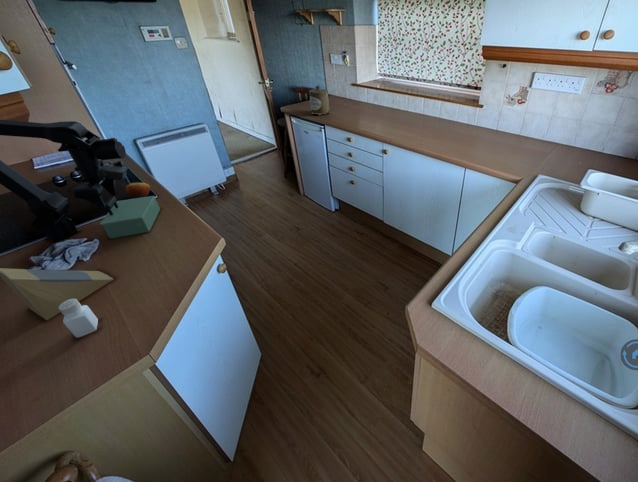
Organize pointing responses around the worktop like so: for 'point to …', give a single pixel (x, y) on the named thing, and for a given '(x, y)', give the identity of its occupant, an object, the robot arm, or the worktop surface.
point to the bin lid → (126, 209)
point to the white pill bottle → (78, 318)
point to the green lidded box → (134, 223)
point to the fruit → (137, 190)
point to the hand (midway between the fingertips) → (109, 201)
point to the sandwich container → (52, 287)
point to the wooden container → (319, 100)
